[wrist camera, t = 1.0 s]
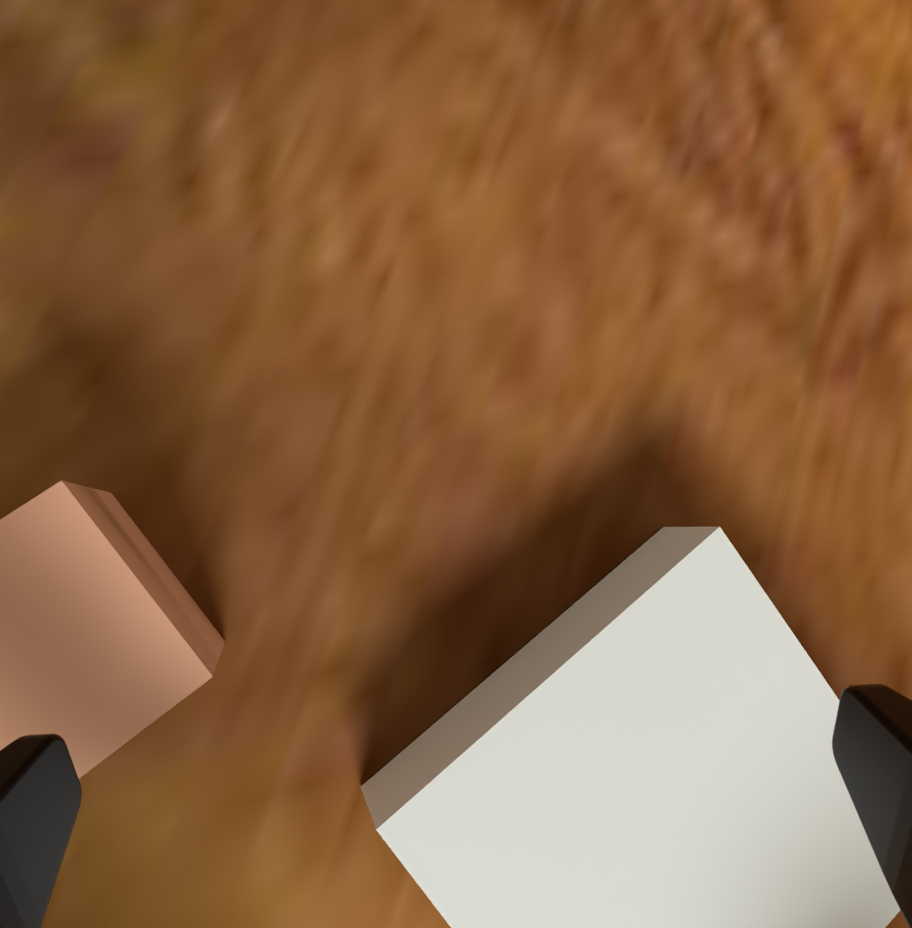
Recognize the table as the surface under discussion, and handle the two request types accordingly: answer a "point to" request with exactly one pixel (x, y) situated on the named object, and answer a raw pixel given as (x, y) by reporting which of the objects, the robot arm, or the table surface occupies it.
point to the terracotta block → (92, 626)
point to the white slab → (640, 768)
